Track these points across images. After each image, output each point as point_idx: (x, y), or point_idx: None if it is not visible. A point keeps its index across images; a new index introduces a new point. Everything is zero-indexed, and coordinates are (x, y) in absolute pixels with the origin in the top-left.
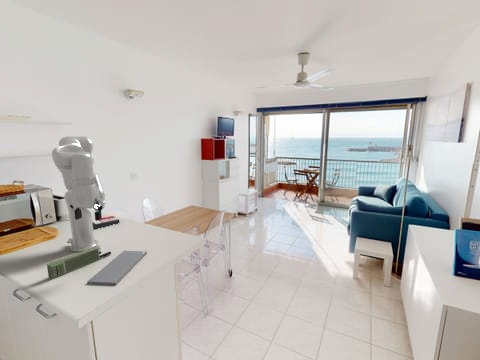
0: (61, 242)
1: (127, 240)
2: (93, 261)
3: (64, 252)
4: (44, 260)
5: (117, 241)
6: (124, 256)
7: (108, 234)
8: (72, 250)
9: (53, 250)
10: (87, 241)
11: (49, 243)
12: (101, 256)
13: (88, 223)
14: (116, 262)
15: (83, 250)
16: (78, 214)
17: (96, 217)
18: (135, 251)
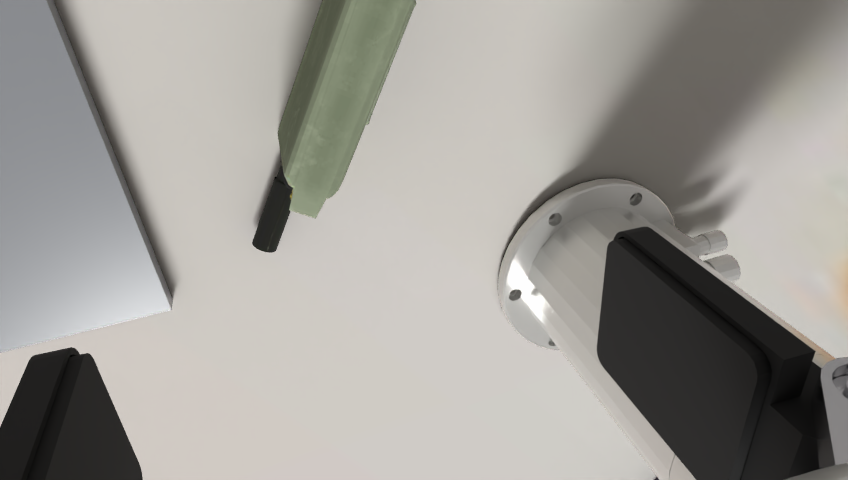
0: (778, 253)
1: (330, 440)
2: (295, 86)
3: (663, 149)
4: (724, 3)
5: (396, 402)
6: (52, 233)
7: (545, 442)
8: (618, 180)
9: (759, 149)
10: (558, 281)
11: (844, 216)
12: (281, 166)
13: (642, 417)
14: (12, 117)
15: (538, 210)
16: (667, 350)
17: (7, 428)
18: (39, 335)
